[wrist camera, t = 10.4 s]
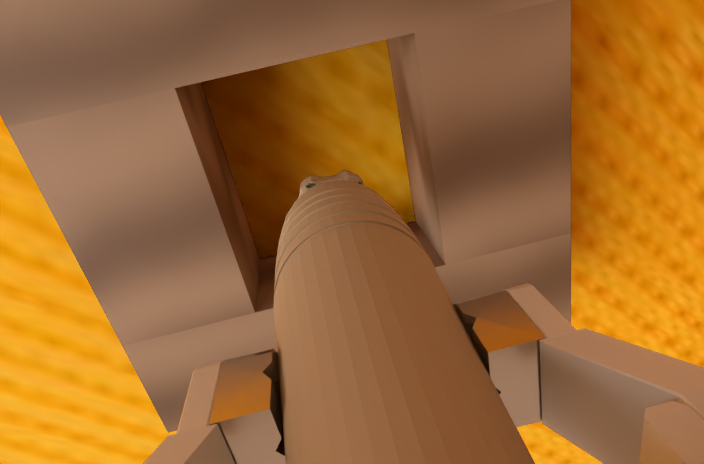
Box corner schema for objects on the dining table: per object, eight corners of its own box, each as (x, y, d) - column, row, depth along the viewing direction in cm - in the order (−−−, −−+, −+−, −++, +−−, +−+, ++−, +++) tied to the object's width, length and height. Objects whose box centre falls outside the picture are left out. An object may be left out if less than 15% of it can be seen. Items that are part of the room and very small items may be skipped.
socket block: (6, -32, 18) (-88, -52, 13) (501, -139, 19) (571, -192, 14) (187, 362, 26) (168, 432, 22) (522, 277, 27) (570, 327, 23)
